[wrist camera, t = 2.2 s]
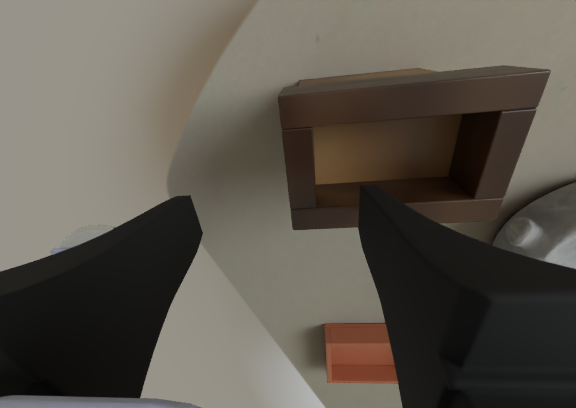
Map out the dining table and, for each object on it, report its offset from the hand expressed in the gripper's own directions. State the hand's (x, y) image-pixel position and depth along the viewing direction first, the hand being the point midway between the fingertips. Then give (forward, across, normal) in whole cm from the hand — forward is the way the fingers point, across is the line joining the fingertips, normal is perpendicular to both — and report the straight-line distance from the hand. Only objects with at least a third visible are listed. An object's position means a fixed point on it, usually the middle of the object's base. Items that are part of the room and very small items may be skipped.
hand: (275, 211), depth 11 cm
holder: (+10, -8, +28) cm, 31 cm away
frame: (+3, -5, -2) cm, 6 cm away
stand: (+10, -5, -2) cm, 12 cm away
